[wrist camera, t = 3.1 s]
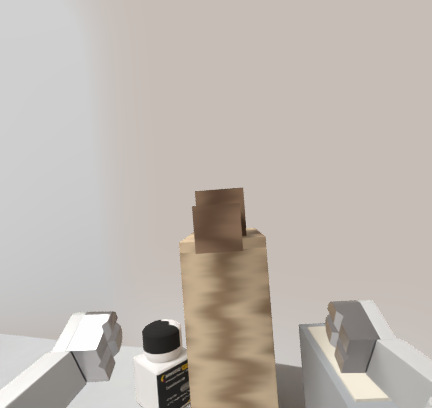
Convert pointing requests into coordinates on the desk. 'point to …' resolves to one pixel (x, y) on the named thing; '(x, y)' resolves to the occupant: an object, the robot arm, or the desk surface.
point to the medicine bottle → (162, 367)
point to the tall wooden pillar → (229, 325)
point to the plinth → (333, 376)
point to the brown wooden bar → (219, 220)
